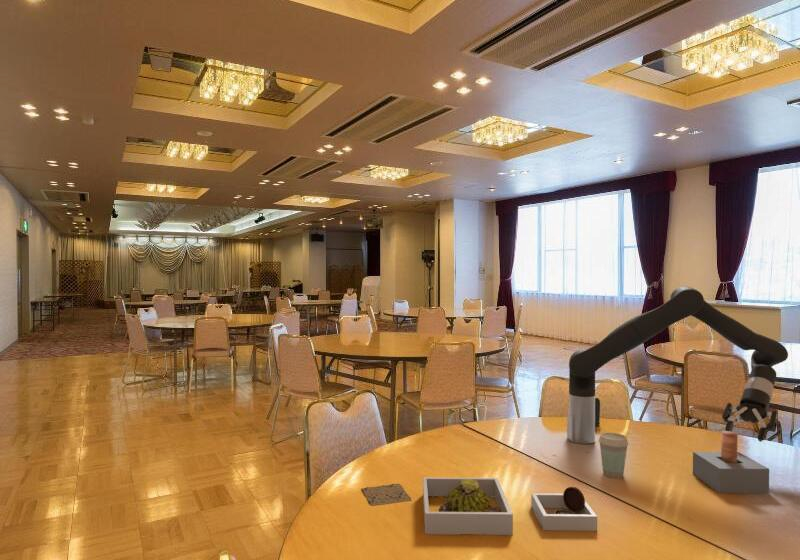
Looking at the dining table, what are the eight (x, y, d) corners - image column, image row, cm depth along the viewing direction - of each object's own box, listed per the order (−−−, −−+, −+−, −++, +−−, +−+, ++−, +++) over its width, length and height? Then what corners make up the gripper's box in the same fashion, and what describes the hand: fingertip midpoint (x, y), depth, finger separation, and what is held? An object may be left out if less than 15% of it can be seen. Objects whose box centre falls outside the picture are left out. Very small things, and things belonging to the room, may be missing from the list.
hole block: (719, 492, 149) (719, 468, 149) (692, 473, 163) (692, 451, 163) (768, 493, 149) (769, 468, 149) (738, 474, 163) (738, 451, 163)
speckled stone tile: (370, 508, 141) (370, 505, 141) (360, 490, 152) (360, 487, 152) (412, 502, 144) (412, 499, 144) (399, 485, 156) (399, 481, 156)
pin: (726, 482, 154) (726, 435, 154) (718, 476, 158) (718, 430, 158) (739, 482, 154) (740, 435, 154) (731, 476, 158) (732, 430, 158)
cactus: (484, 540, 124) (484, 499, 123) (426, 522, 132) (426, 484, 132) (511, 512, 138) (512, 475, 138) (457, 497, 147) (457, 463, 147)
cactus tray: (425, 534, 126) (425, 513, 126) (422, 494, 148) (422, 477, 148) (512, 535, 126) (512, 514, 126) (497, 495, 148) (497, 477, 148)
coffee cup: (631, 481, 158) (631, 441, 158) (601, 478, 160) (601, 439, 159) (624, 470, 166) (625, 432, 166) (596, 468, 168) (596, 431, 168)
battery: (594, 422, 218) (594, 395, 218) (600, 425, 215) (600, 397, 215) (580, 424, 216) (580, 396, 216) (585, 426, 213) (585, 398, 213)
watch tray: (543, 530, 128) (543, 516, 128) (531, 506, 141) (531, 493, 141) (597, 530, 128) (597, 516, 128) (579, 506, 141) (580, 493, 141)
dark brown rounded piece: (546, 518, 135) (546, 489, 134) (566, 509, 139) (566, 482, 139) (573, 530, 128) (573, 501, 128) (592, 521, 133) (592, 492, 133)
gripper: (729, 383, 174) (715, 424, 167) (780, 391, 163) (767, 435, 156) (735, 397, 177) (721, 437, 170) (786, 405, 166) (773, 449, 159)
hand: (743, 436), depth 163 cm, fingers open, 8 cm apart
